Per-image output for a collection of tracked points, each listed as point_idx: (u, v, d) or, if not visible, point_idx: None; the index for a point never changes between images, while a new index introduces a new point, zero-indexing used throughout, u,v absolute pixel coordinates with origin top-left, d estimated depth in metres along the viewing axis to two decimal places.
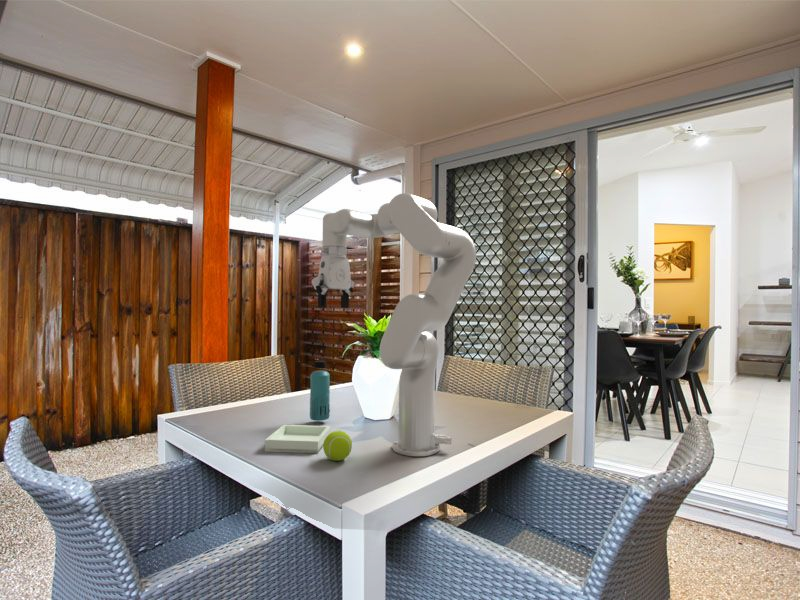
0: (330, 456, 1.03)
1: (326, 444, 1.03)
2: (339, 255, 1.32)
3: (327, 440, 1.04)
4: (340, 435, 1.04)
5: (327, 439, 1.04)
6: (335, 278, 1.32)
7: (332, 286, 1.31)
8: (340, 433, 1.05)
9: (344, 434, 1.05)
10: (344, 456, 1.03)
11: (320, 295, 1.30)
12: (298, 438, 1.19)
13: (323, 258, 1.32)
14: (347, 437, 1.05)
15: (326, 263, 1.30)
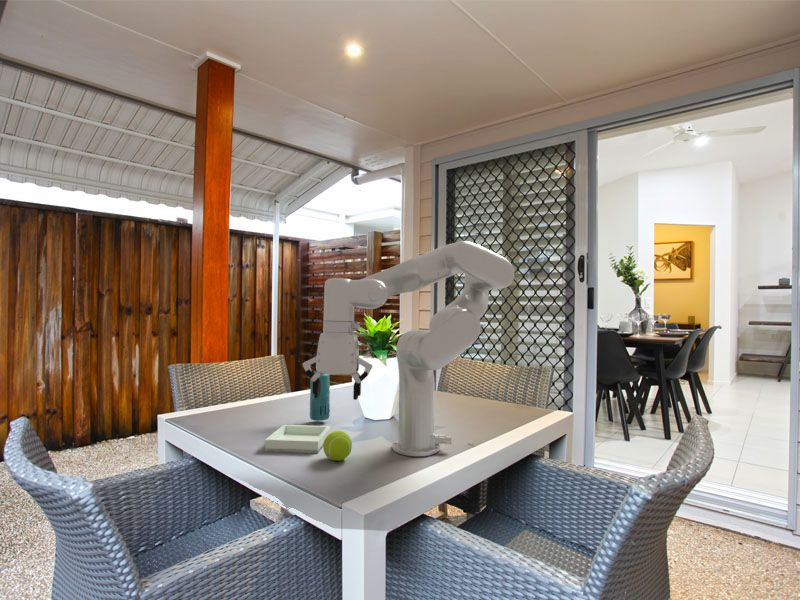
0: (330, 456, 1.03)
1: (326, 444, 1.03)
2: None
3: (327, 440, 1.04)
4: (340, 435, 1.04)
5: (327, 439, 1.04)
6: None
7: None
8: (340, 433, 1.05)
9: (344, 434, 1.05)
10: (344, 456, 1.03)
11: (360, 383, 1.06)
12: (298, 438, 1.19)
13: (356, 336, 1.06)
14: (347, 437, 1.05)
15: None
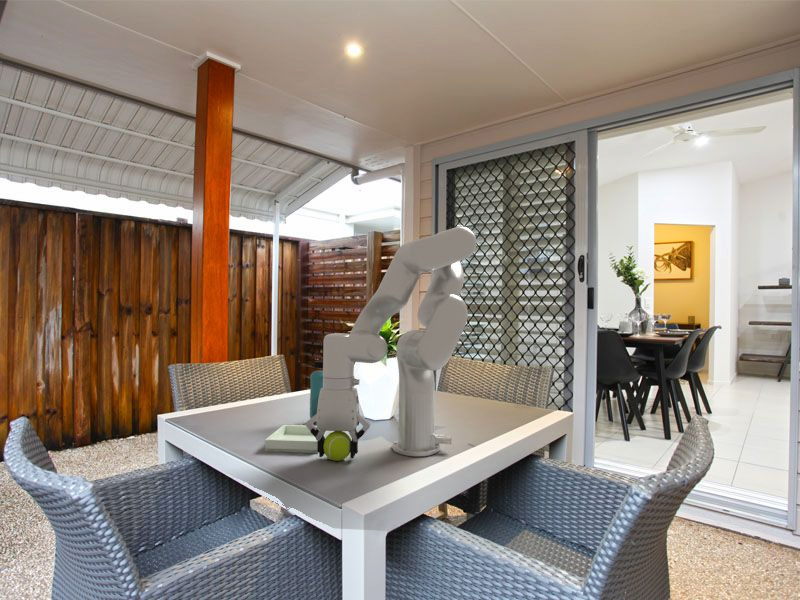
0: (330, 456, 1.03)
1: (326, 444, 1.03)
2: None
3: (327, 440, 1.04)
4: (340, 435, 1.04)
5: (327, 439, 1.04)
6: None
7: None
8: (340, 433, 1.05)
9: (344, 434, 1.05)
10: (344, 456, 1.03)
11: (357, 440, 1.06)
12: (298, 438, 1.19)
13: (356, 392, 1.05)
14: (347, 437, 1.05)
15: None
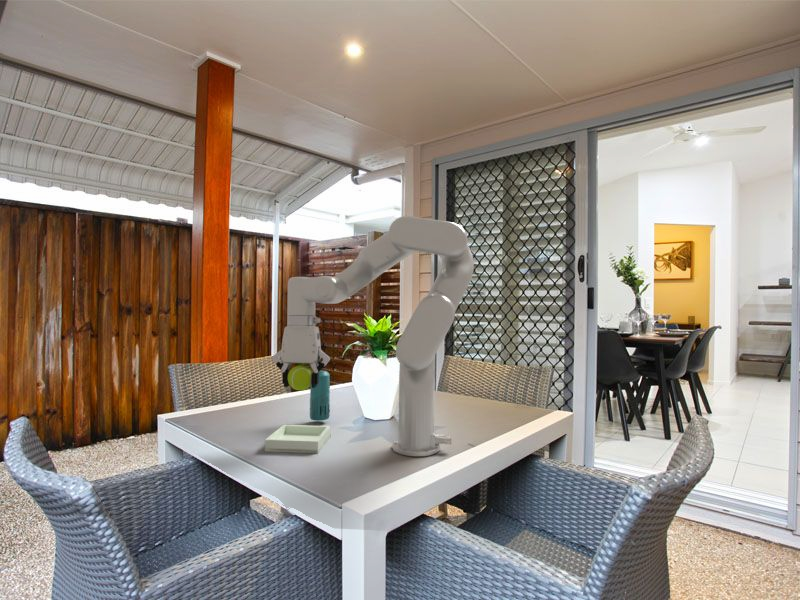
0: (293, 385, 1.15)
1: (289, 374, 1.15)
2: None
3: (290, 371, 1.16)
4: (302, 367, 1.16)
5: (291, 370, 1.16)
6: None
7: None
8: (302, 365, 1.17)
9: (306, 367, 1.17)
10: (306, 385, 1.15)
11: (318, 373, 1.18)
12: (298, 438, 1.19)
13: (317, 329, 1.17)
14: (309, 369, 1.17)
15: (319, 334, 1.19)
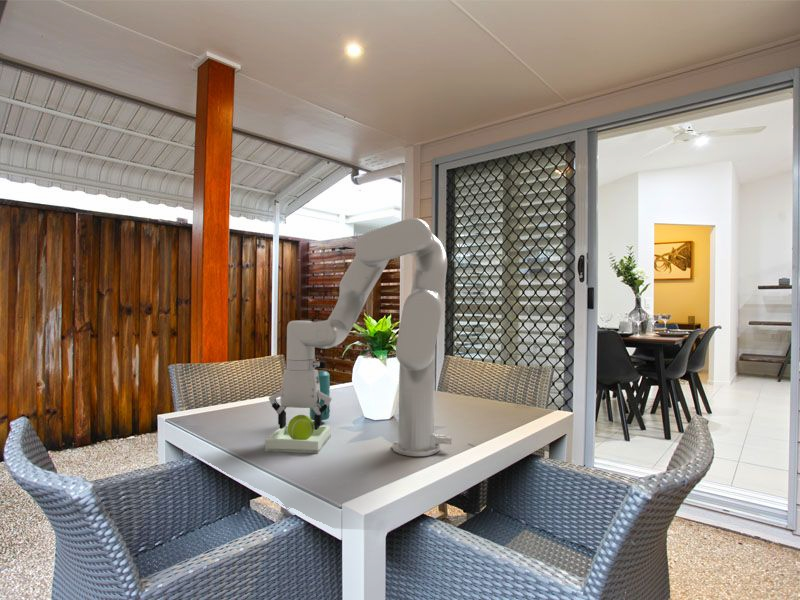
0: (293, 437, 1.15)
1: (289, 426, 1.15)
2: None
3: (290, 423, 1.16)
4: (302, 418, 1.16)
5: (291, 422, 1.16)
6: None
7: None
8: (303, 416, 1.17)
9: (306, 417, 1.17)
10: (306, 437, 1.15)
11: (321, 414, 1.18)
12: None
13: (316, 373, 1.17)
14: (309, 420, 1.17)
15: (318, 378, 1.19)
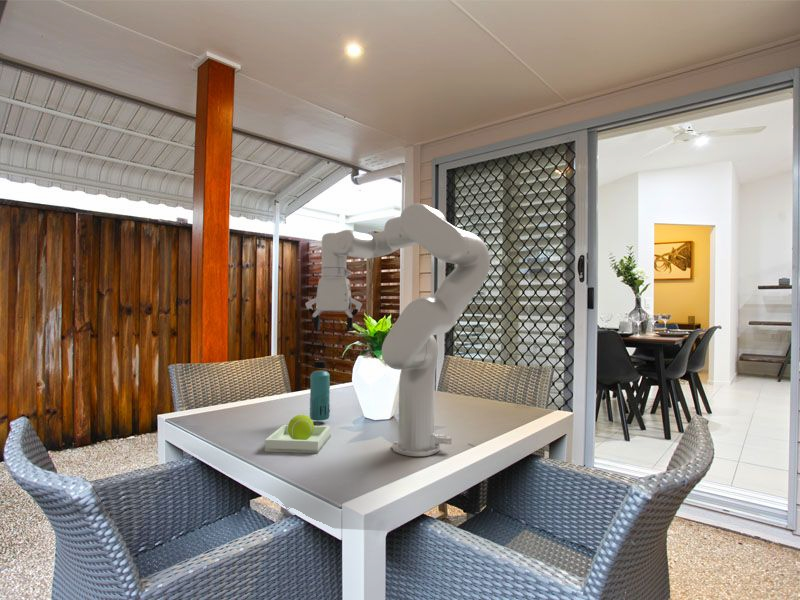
0: (293, 437, 1.15)
1: (289, 426, 1.15)
2: None
3: (290, 423, 1.16)
4: (302, 418, 1.16)
5: (291, 422, 1.16)
6: None
7: None
8: (303, 416, 1.17)
9: (306, 417, 1.17)
10: (306, 437, 1.15)
11: (352, 318, 1.30)
12: None
13: (348, 281, 1.30)
14: (309, 420, 1.17)
15: None
